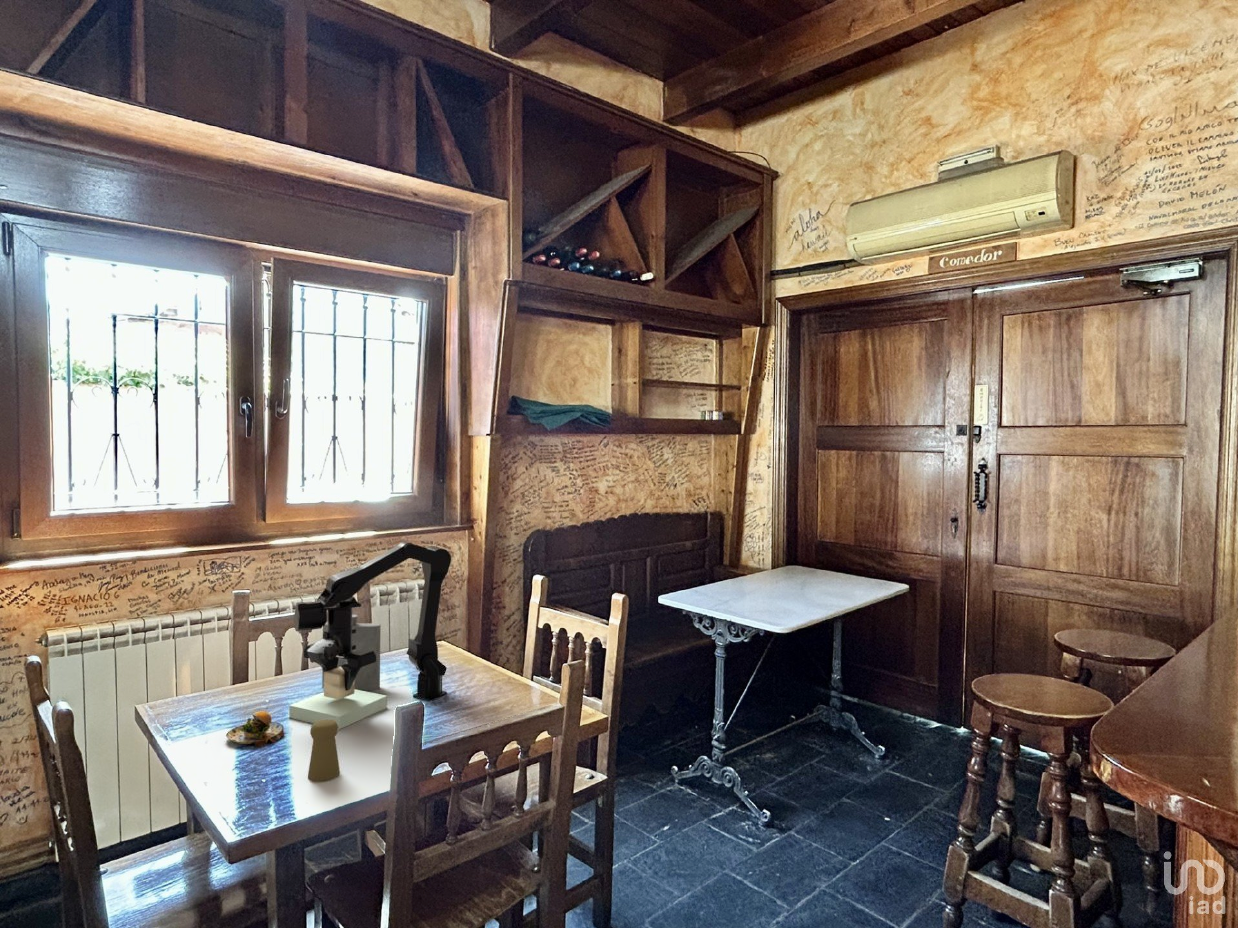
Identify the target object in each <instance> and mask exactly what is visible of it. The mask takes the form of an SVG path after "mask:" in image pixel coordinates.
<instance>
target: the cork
mask: <svg viewBox="0 0 1238 928" xmlns="http://www.w3.org/2000/svg"><path fill="white" fill-rule="evenodd" d="M338 731H339V729H338V725H337V723H336V721H334V720H331V719H324V720H319V721H317V722H315V723H312V725H311V727H310V732H309V733H310V734H309V735H310V736H311V738H312V747H311V752H310V753H311V754H310V759H309V766H308V772H307V773H308V774H307V779H308V780H309V782H314V783H323V782H324V783H325V782H330V781H332V780H334V779H336V778H338V777H339V776H340V774H341V771H340V764H339V756H338V749H337V748H338V747H337V741H336V740H337V739H336V736H337V735H338Z"/></svg>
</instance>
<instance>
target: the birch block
mask: <svg viewBox="0 0 1238 928" xmlns="http://www.w3.org/2000/svg"><path fill="white" fill-rule="evenodd" d="M354 682H355V680H354ZM354 682H353V684H352V686H351V688H350V690H348V691H346V690H345V673H344V670H343V669H342V668H341V667H337V668H335V669H332V670H329V671H326V672H324V688H323V692H324V696H325V697H329V698H334V699H339V700H340V699H342V698H344V697H347V696H349V695H352V694H354Z"/></svg>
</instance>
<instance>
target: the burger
mask: <svg viewBox="0 0 1238 928" xmlns="http://www.w3.org/2000/svg"><path fill="white" fill-rule="evenodd" d="M268 706H269V705H267V706H266V708H265V711H264V710H261V711H255V712H254V713H252V717H253V718H251V717H248V718H247V721H246V722H245V723H244V724H241V725H237V726H235V727H234V728H232V729H230V730H229V731H228V732H227V733H226V734H225V736H226V738H227V739H228V740H230V741H232V742H234V743H237V744H243V745H244V744H245V745H248V744H249V745H250V744H252V745H253V744H254V745H255V748H261V747H265V746H266V745H267V743H268V740H270V742H272V743H277V741H280V739H281V738H282V736H285V731H284V728H285V727H284V726H283V724H282V723H279V722H276V721H272V720H273V719H272V716H271V714H270V713H269V712H267V709H268Z"/></svg>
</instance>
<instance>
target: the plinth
mask: <svg viewBox="0 0 1238 928" xmlns="http://www.w3.org/2000/svg"><path fill="white" fill-rule="evenodd" d="M288 707H289V709H288V710H289V715H288V718H290V719H293V720H298V721H302V722H306V723H311V724H314V723H315V722H317V721H319V720H324V719H331V720H334V721H336V723H337V725H338V730H342V729H343V728H346V727H347V726H350V725H352V724H354V723H356V722H358V721H361V720H362V719H365V718H367V717H369V716H372V715H373V714H376V713H377V712H381V711H382V710H385V709H387V708H388V696H387V695H384V694H379V693H375V692H371V691H370V692H369V691H367V690H365V691H361V690H356V689H354V694H352V695H349V696H347V697H344V698H342V699H340V700H339V699H334V698H329V697H325V696H324V691H323V692H321V693H317V694H315V695H313V696H310V697H307V698H305V699H302V700H300V701H296V702H294V703H292V704H289V706H288Z"/></svg>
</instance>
